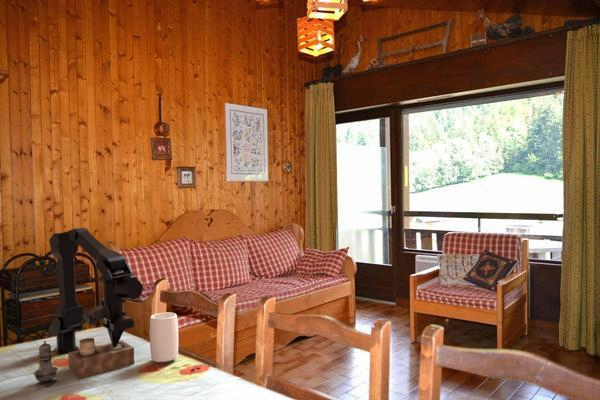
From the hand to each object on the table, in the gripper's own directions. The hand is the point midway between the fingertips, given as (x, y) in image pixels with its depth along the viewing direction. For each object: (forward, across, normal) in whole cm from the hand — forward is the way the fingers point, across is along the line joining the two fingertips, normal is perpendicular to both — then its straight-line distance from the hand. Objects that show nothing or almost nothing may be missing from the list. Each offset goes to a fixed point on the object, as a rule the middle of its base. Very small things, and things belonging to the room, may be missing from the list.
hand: (114, 346), depth 141 cm
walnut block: (+5, 0, -4) cm, 7 cm away
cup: (+6, +9, +12) cm, 16 cm away
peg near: (+1, 0, -8) cm, 8 cm away
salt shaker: (+6, +2, -20) cm, 20 cm away
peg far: (+5, 0, 0) cm, 5 cm away
